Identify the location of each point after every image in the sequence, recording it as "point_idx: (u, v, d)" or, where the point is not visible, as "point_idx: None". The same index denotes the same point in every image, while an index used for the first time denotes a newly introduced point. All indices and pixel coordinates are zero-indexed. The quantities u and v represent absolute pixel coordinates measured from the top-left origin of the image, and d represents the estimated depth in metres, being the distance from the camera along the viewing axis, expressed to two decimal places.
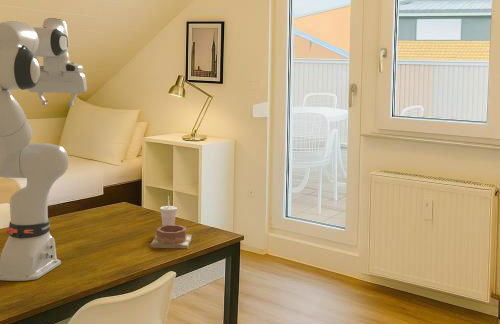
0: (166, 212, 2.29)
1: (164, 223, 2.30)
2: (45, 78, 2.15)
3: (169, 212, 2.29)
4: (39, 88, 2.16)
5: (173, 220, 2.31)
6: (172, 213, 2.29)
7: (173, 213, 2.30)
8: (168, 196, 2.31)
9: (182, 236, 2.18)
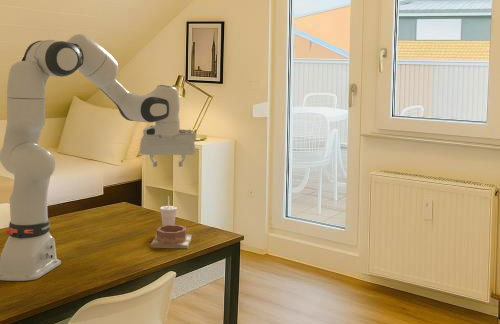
0: (166, 212, 2.29)
1: (164, 223, 2.30)
2: None
3: (169, 212, 2.29)
4: None
5: (173, 220, 2.31)
6: (172, 213, 2.29)
7: (173, 213, 2.30)
8: (168, 196, 2.31)
9: (182, 236, 2.18)
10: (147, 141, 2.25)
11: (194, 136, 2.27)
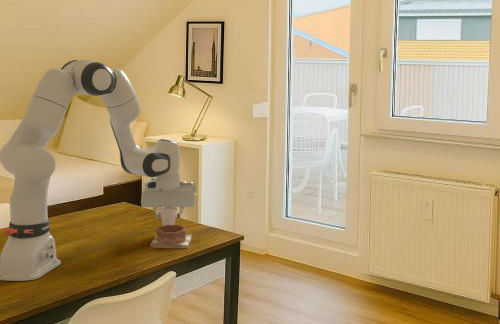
0: (166, 212, 2.29)
1: (164, 223, 2.30)
2: None
3: (169, 212, 2.29)
4: None
5: (173, 220, 2.31)
6: (172, 213, 2.29)
7: (173, 213, 2.30)
8: None
9: (182, 236, 2.18)
10: (148, 194, 2.28)
11: (194, 188, 2.30)
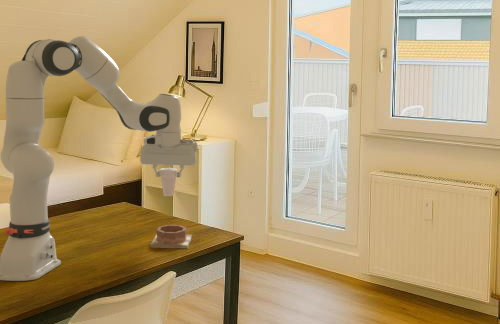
0: (165, 173, 2.21)
1: (163, 185, 2.23)
2: None
3: (168, 173, 2.21)
4: None
5: (172, 182, 2.23)
6: (171, 175, 2.22)
7: (172, 175, 2.22)
8: None
9: (182, 236, 2.18)
10: (147, 150, 2.21)
11: (195, 146, 2.22)
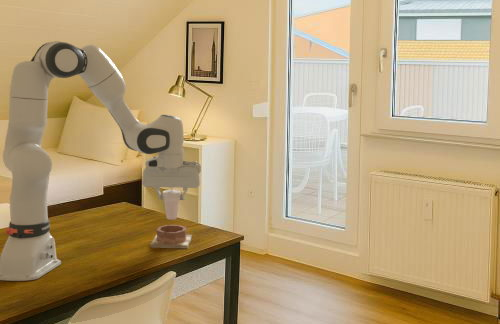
0: (168, 196, 2.15)
1: (166, 208, 2.17)
2: None
3: (171, 196, 2.15)
4: None
5: (176, 205, 2.17)
6: (174, 197, 2.16)
7: (175, 197, 2.16)
8: None
9: (182, 236, 2.18)
10: (149, 173, 2.15)
11: (199, 168, 2.16)
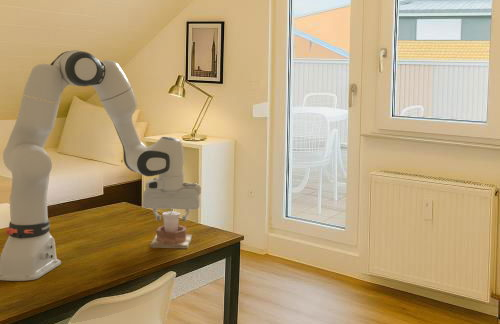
0: (167, 218, 2.17)
1: (166, 229, 2.19)
2: None
3: (170, 218, 2.16)
4: None
5: (175, 227, 2.18)
6: (174, 219, 2.17)
7: (175, 219, 2.17)
8: None
9: (182, 236, 2.18)
10: (150, 194, 2.16)
11: (199, 190, 2.17)
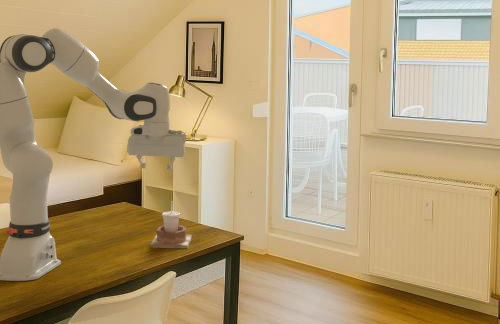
0: (167, 218, 2.17)
1: (166, 229, 2.19)
2: None
3: (170, 218, 2.16)
4: None
5: (175, 227, 2.18)
6: (174, 219, 2.17)
7: (175, 219, 2.17)
8: (171, 201, 2.19)
9: (182, 236, 2.18)
10: (134, 141, 2.14)
11: (184, 138, 2.14)
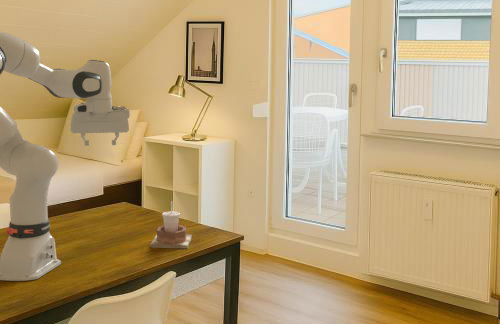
0: (167, 218, 2.17)
1: (166, 229, 2.19)
2: None
3: (170, 218, 2.16)
4: None
5: (175, 227, 2.18)
6: (174, 219, 2.17)
7: (175, 219, 2.17)
8: (171, 201, 2.19)
9: (182, 236, 2.18)
10: (78, 119, 2.15)
11: (127, 113, 2.20)
